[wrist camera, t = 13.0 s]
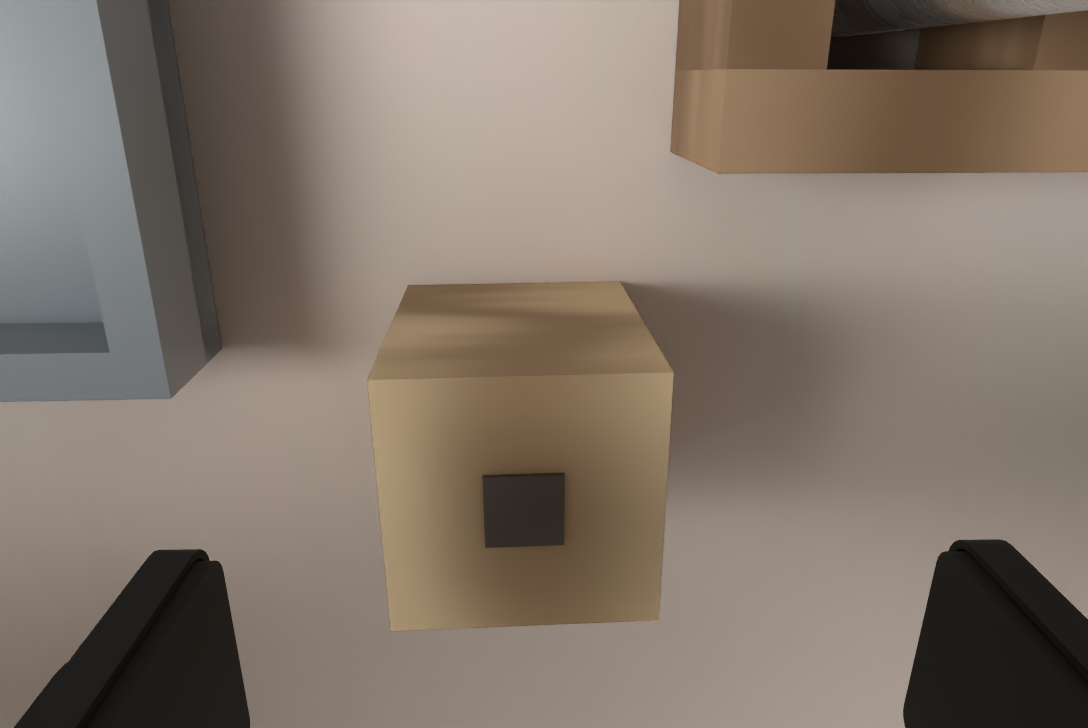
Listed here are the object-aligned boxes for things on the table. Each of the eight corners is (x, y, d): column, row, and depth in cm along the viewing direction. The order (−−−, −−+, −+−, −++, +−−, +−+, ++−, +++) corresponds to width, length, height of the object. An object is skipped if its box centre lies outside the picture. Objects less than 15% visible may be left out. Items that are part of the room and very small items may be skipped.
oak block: (421, 473, 20) (389, 634, 14) (408, 284, 18) (366, 382, 12) (613, 466, 20) (659, 623, 14) (619, 280, 18) (674, 375, 12)
